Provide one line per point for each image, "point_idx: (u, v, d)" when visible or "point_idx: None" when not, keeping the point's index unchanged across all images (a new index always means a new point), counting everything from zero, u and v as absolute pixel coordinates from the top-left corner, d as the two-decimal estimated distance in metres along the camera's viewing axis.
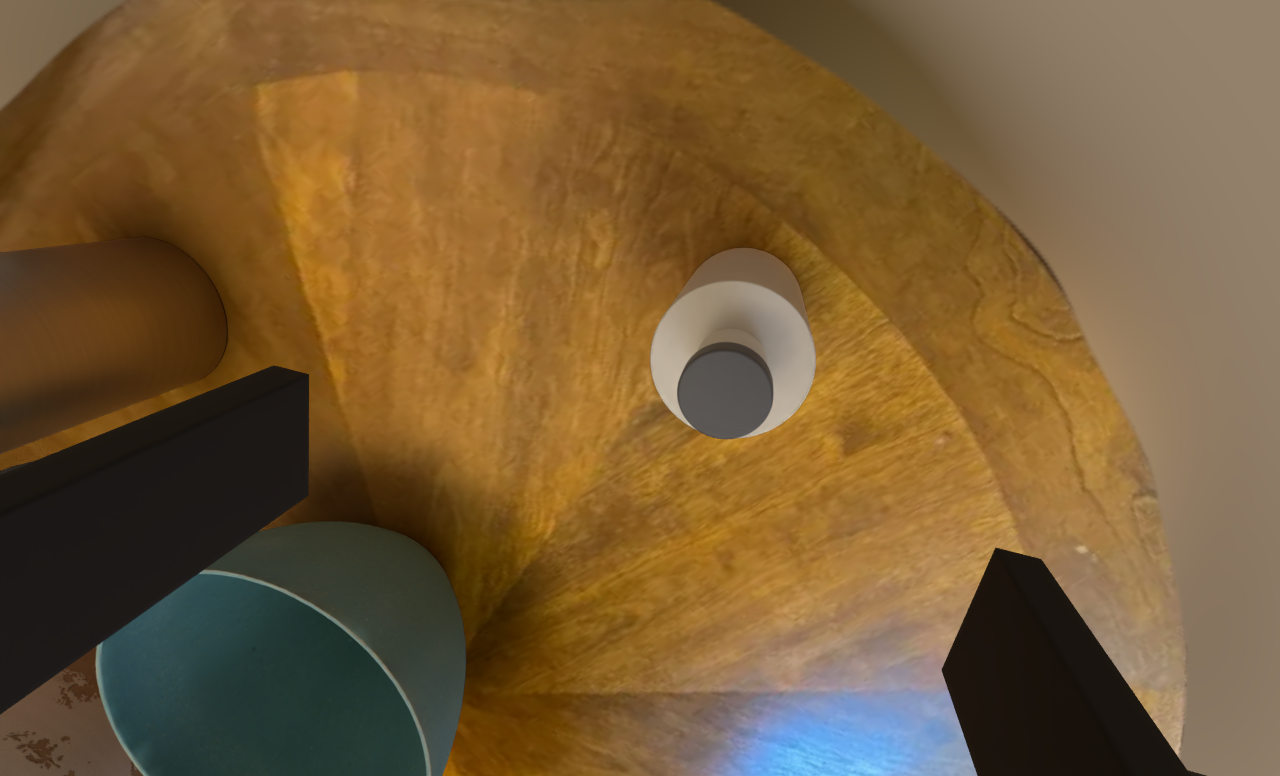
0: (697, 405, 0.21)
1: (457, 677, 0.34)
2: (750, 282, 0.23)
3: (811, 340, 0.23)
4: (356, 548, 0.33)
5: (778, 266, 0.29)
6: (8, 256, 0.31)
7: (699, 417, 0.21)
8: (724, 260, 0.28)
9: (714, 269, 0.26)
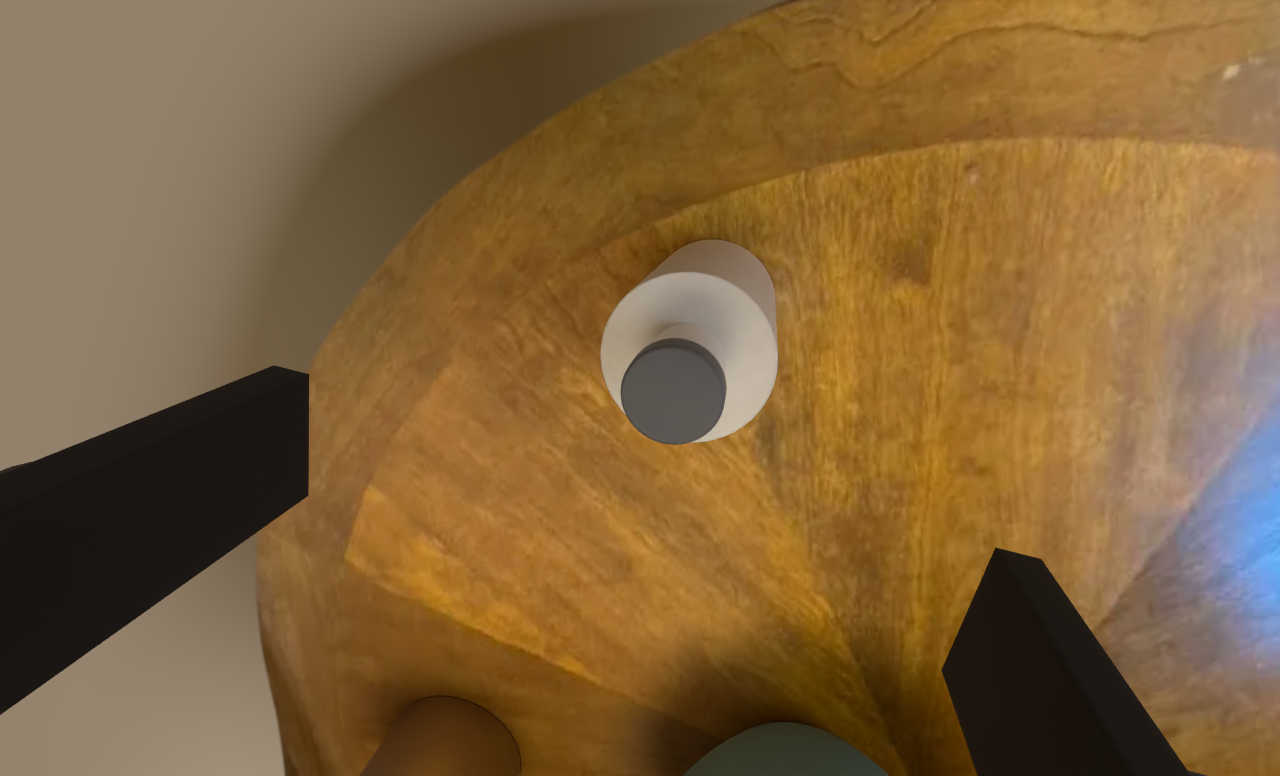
0: (667, 426, 0.19)
1: None
2: (620, 301, 0.22)
3: (705, 275, 0.21)
4: None
5: (675, 253, 0.28)
6: None
7: (680, 431, 0.19)
8: None
9: None
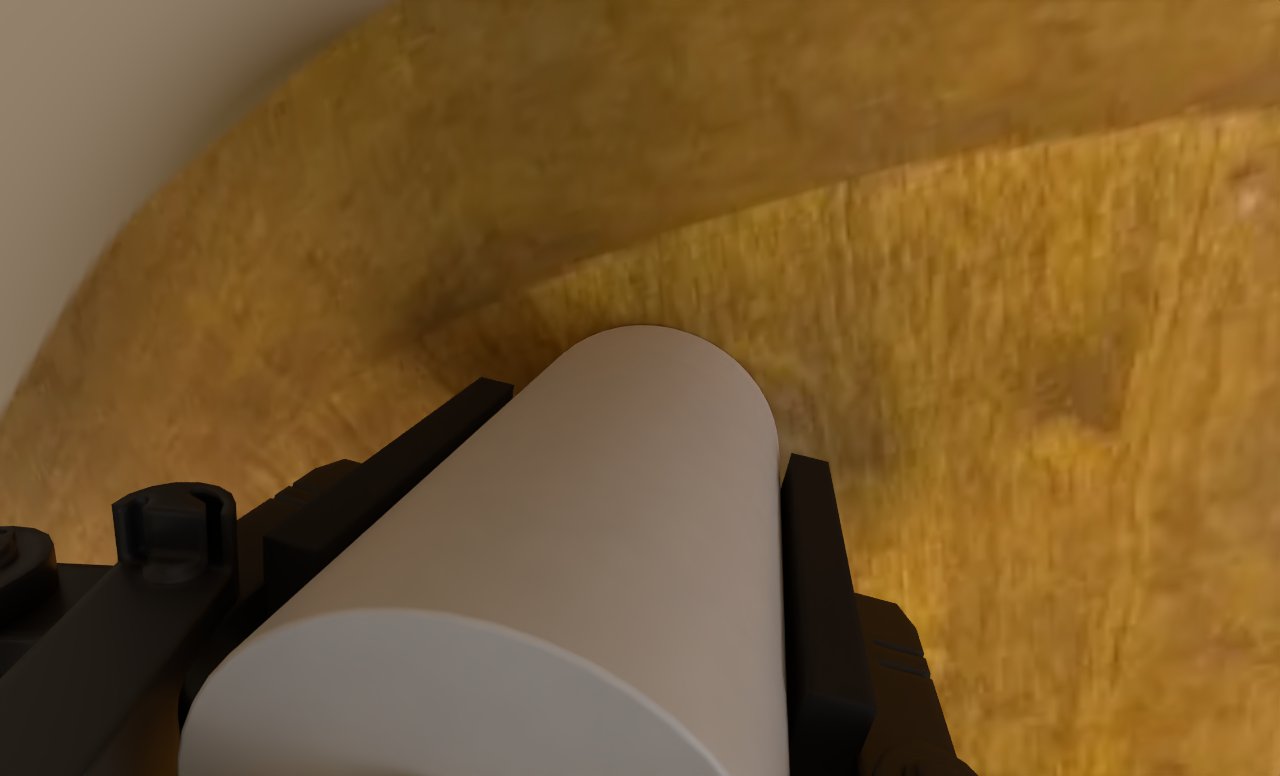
0: None
1: None
2: (210, 676, 0.06)
3: (493, 635, 0.05)
4: None
5: (547, 375, 0.12)
6: None
7: None
8: None
9: None
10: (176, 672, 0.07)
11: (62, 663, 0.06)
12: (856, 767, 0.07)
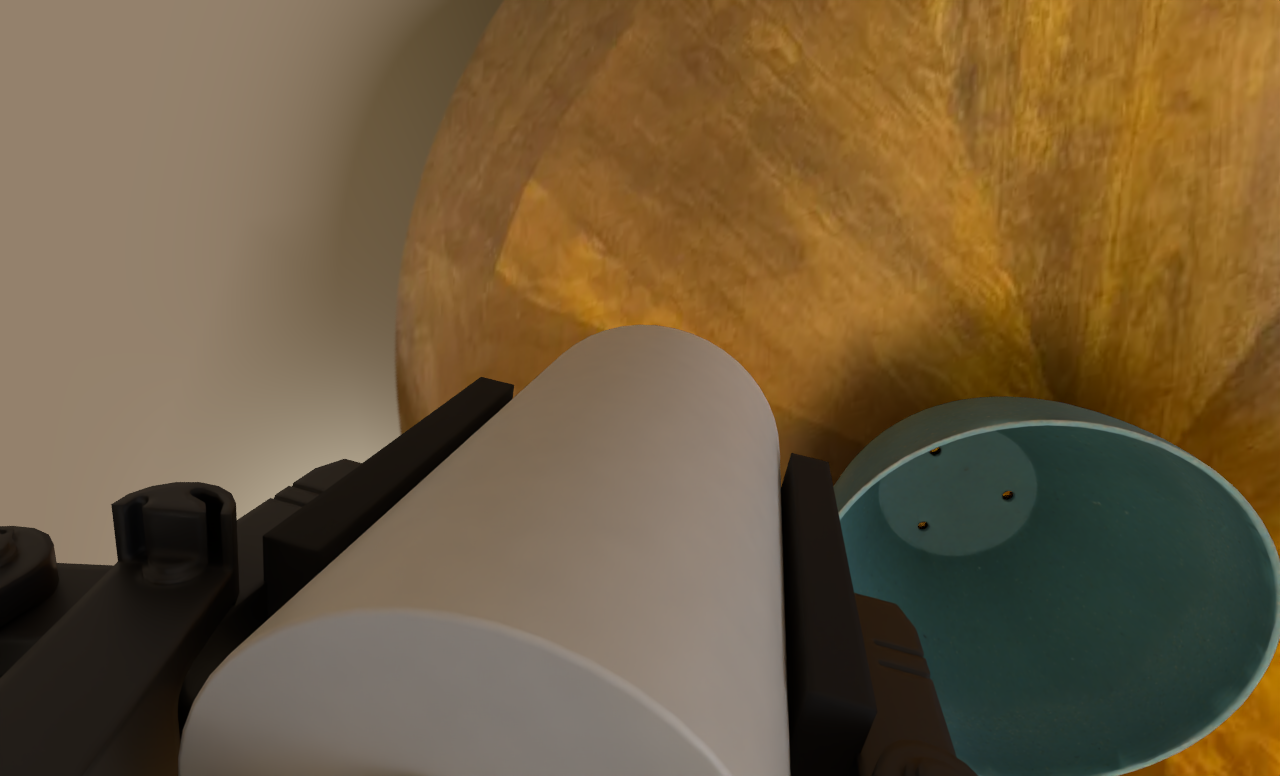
0: None
1: None
2: (211, 676, 0.06)
3: (494, 635, 0.05)
4: (903, 422, 0.31)
5: (547, 374, 0.12)
6: None
7: None
8: None
9: None
10: (176, 672, 0.07)
11: (62, 663, 0.06)
12: (856, 767, 0.07)
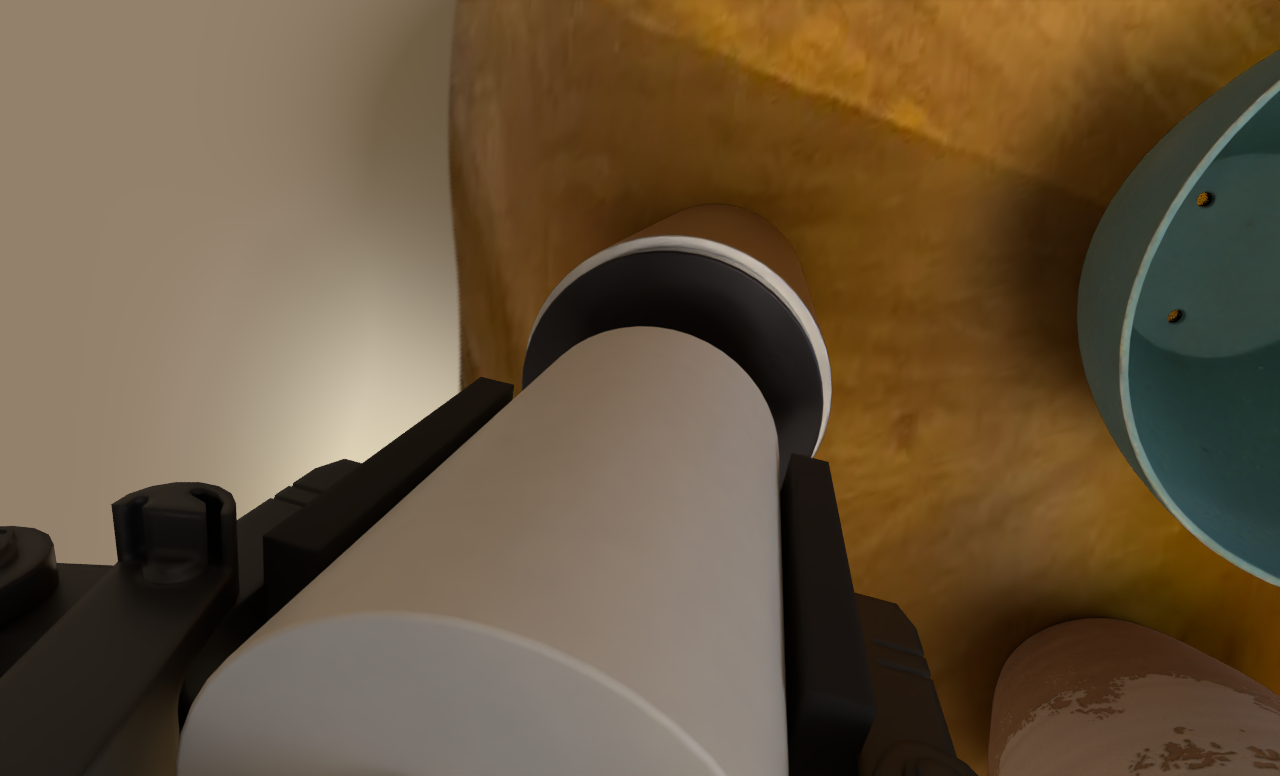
0: None
1: None
2: (209, 680, 0.06)
3: (492, 639, 0.05)
4: None
5: (546, 376, 0.12)
6: None
7: None
8: None
9: None
10: (176, 672, 0.07)
11: (62, 663, 0.06)
12: (856, 767, 0.07)
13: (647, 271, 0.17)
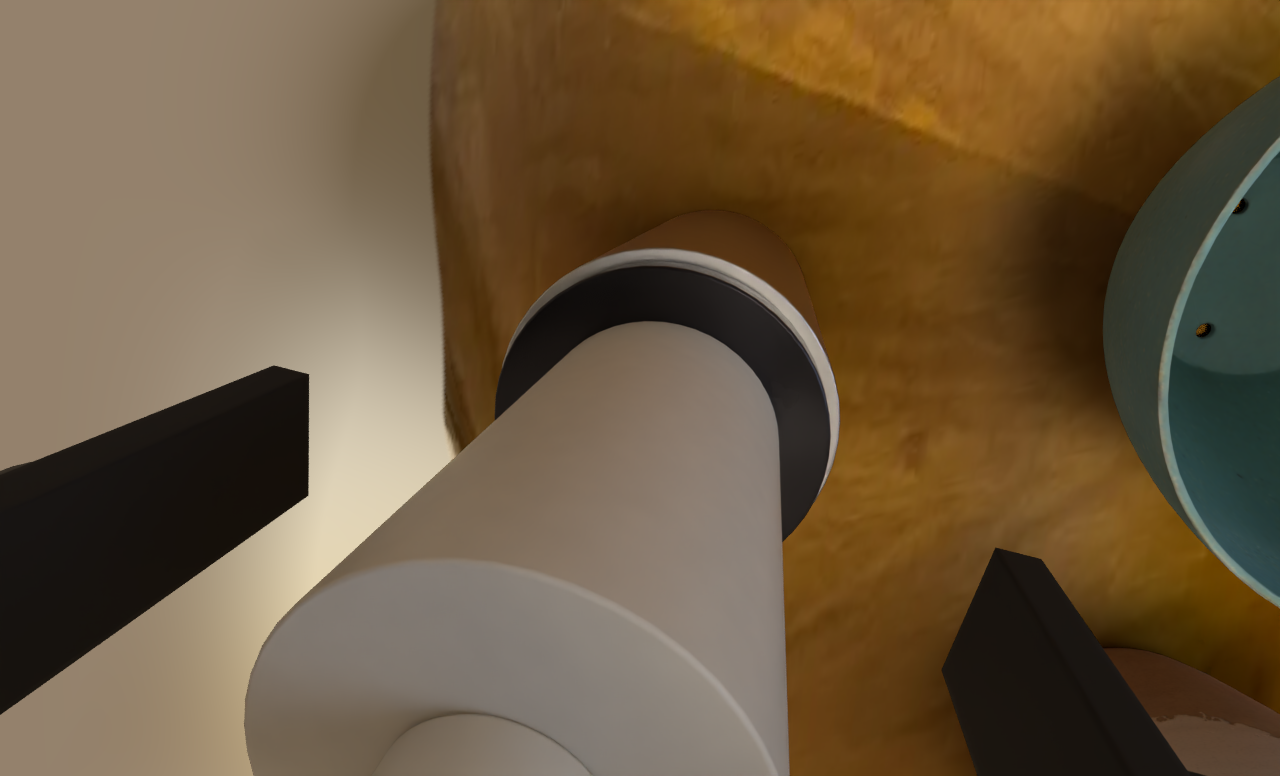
0: None
1: None
2: (278, 624, 0.07)
3: (532, 580, 0.06)
4: None
5: (561, 367, 0.13)
6: None
7: None
8: None
9: None
10: None
11: None
12: None
13: (632, 289, 0.15)
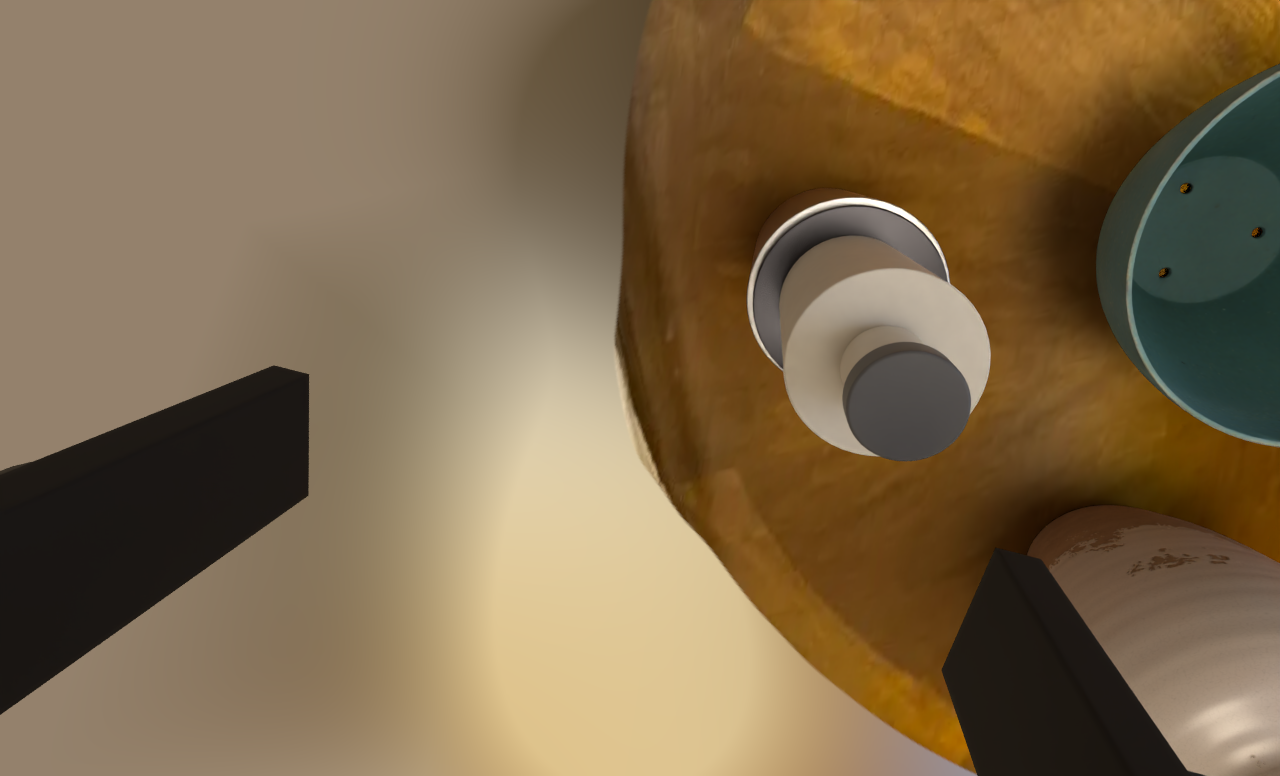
0: (899, 440, 0.17)
1: None
2: (813, 299, 0.20)
3: (917, 272, 0.19)
4: None
5: (827, 249, 0.26)
6: (775, 219, 0.36)
7: (914, 447, 0.17)
8: (785, 299, 0.26)
9: (784, 318, 0.24)
10: None
11: None
12: None
13: (844, 217, 0.28)
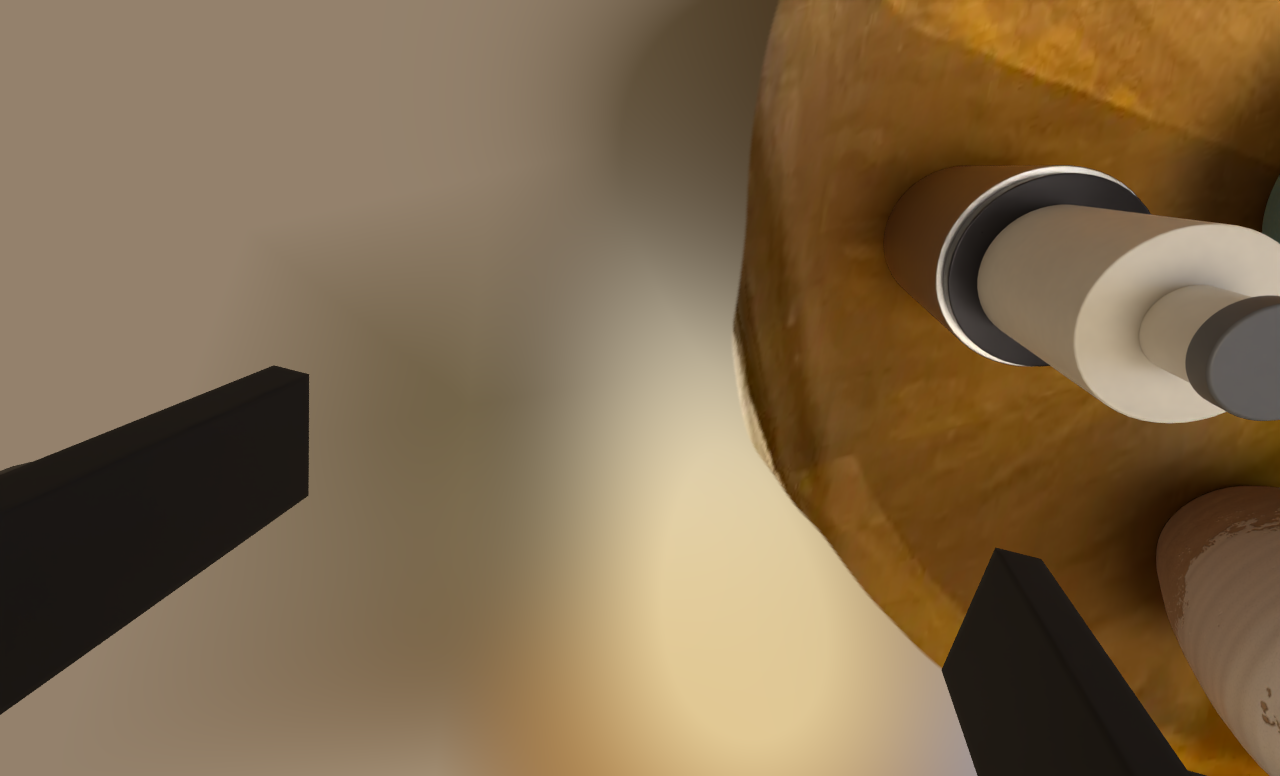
0: (1264, 399, 0.16)
1: None
2: (1116, 259, 0.19)
3: (1238, 228, 0.18)
4: None
5: (1056, 217, 0.25)
6: (935, 195, 0.36)
7: None
8: (1017, 269, 0.25)
9: (1036, 285, 0.23)
10: None
11: None
12: None
13: (1055, 186, 0.27)
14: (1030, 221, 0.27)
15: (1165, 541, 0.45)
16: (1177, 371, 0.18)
